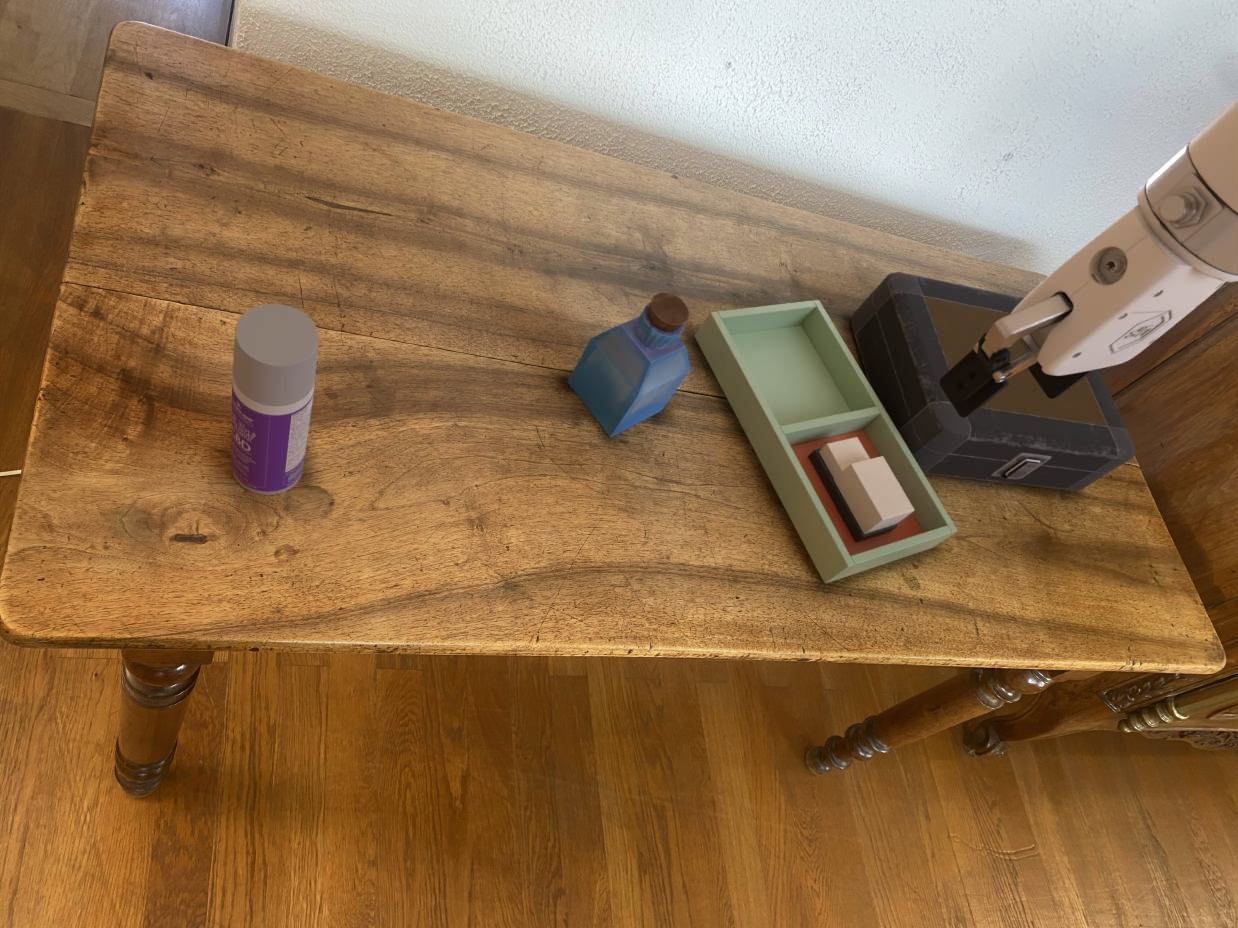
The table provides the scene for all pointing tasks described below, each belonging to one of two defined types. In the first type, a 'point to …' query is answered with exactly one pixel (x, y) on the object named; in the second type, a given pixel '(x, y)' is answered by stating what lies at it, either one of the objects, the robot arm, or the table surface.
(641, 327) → the perfume bottle
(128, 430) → the table surface
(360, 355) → the table surface
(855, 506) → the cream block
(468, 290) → the table surface
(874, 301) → the cash box
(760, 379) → the tray
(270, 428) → the container
